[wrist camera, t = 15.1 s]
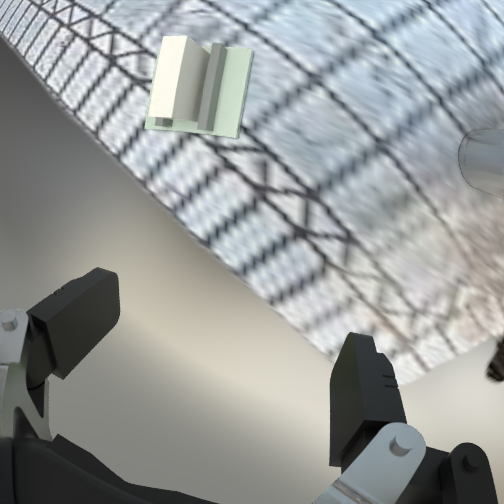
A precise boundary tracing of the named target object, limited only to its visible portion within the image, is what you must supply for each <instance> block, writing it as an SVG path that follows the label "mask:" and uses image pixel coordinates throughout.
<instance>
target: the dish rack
mask: <svg viewBox="0 0 504 504" xmlns="http://www.w3.org/2000/svg"><path fill="white" fill-rule="evenodd" d="M201 47H202V48H203V49H205V50H206V51H207V52H208V53H209V54H210V58H209V63H208V68H207V73H206V79H205V84H204V89H203V95H202V101H201V107H200V113H199V119H198V122H189V121H179V120H172V119H165V118H157V117H149V109H150V103H151V96H152V91H153V85H154V80H155V74H156V69H157V64H158V59H159V55H160V50H161V47H159V51H158V55H157V60H156V65H155V70H154V75H153V80H152V85H151V91H150V97H149V103H148V109H147V116H146V123H145V129H159V130H171V131H182V132H192V133H201V134H210V135H218V136H225V137H233V138H239V132H240V126H241V120H242V114H243V109H244V103H245V97H246V92H247V86H248V81H249V75H250V70H251V65H252V59H253V54H254V51H253V50H252V49H250V48H236V47H224V46H223V45H222V44H218V43H213V44H212V46H201Z"/></svg>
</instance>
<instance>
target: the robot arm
mask: <svg viewBox="0 0 504 504" xmlns="http://www.w3.org/2000/svg"><path fill="white" fill-rule="evenodd" d="M459 164H460V169H461V171H462V174H463V176H464V178H465V179H466V181H467V182H468V183H469V184H470V185H471V186H473V187H474V188H476V189H479V190H481V191H484V192H487V193H490V194H492V195H495V196H498V197H500V198H503V199H504V129H488V130H474V131H471V132H470V133H468V134H467V135H466V136H465V137H464V139H463V141H462V143H461V146H460V149H459ZM119 316H120V300H119V282H118V276H117V274H116V273H114V272H111V271H108V270H105V269H102V268H98V267H97V268H95V269H93V270H92V271H90V272H89V273H87V274H86V275H84V276H83V277H80V278H77V279H74V280H71V281H70V282H68V283H67V284H65V285H64V286H62V287H61V289H58V290H56V291H55V292H54V293H53V294H51V295H49V296H48V297H46V298H45V299H43V300H42V301H41V302H39V303H38V304H37V305H35V306H34V307H32V308H31V309H30V310H28V311H27V312H24V311H23V310H20V309H7V310H4V311H1V312H0V504H218V503H214V502H210V501H207V500H203V499H200V498H196V497H193V496H190V495H187V494H184V493H181V492H177V491H171V490H163V489H157V488H151V487H146V486H140V485H135V484H131V483H128V482H126V481H124V480H123V479H121V478H120V477H119V476H117V475H116V474H115V473H114V472H112V471H111V470H110V469H109V468H107V467H106V466H105V465H104V464H103V463H102V462H100V461H99V460H98V459H97V458H96V457H95V456H93V455H92V454H91V453H89V452H88V451H86V450H84V449H82V448H81V447H79V446H77V445H75V444H74V443H72V442H70V441H69V440H67V439H66V438H64V437H62V436H60V435H59V434H57V436H56V437H55V438H54V439H53V438H52V435H51V432H50V427H49V380H48V376H49V375H50V374H51V373H52V374H54V375H56V376H57V377H59V378H61V379H62V380H63V379H65V377H66V376H67V375H68V374H69V373H70V372H71V371H72V370H73V369H74V368H75V367H76V366H77V365H78V363H80V361H81V360H82V359H83V358H84V357H85V356H86V355H87V354H88V353H89V352H90V351H91V350H92V349H93V348H94V347H95V346H96V345H97V344H98V342H100V341H101V340H102V338H104V336H105V335H106V334H107V333H108V332H109V331H110V330H111V329H112V328H113V327H114V326H115V325H116V323H117V322H118V319H119ZM329 466H334V467H341V476H340V477H339V478H338V479H337V480H336V481H335V482H334V483H333V484H332V485H330V486H329V487H328V488H327V489H326V491H324V492H323V493H322V494H321V495H320V496H319V497H318V498H317V499H316V500H315V501H314V502H312V503H311V504H498V500H497V495H496V490H495V485H494V481H493V477H492V472H491V469H490V465H489V461H488V458H487V456H486V454H485V452H484V451H483V450H482V449H481V448H480V447H479V446H477V445H475V444H473V443H461V444H459V445H458V446H456V447H455V448H454V449H453V450H452V451H451V452H450V453H449V452H445V451H441V450H437V449H434V448H430V447H427V446H426V444H425V441H424V438H423V436H422V435H421V434H420V433H419V432H418V431H417V430H416V429H415V428H414V427H412V426H410V425H408V424H407V421H406V416H405V412H404V408H403V404H402V400H401V396H400V392H399V389H398V384H397V380H396V379H395V373H394V370H393V366H392V364H391V363H390V361H389V360H388V359H387V357H386V356H385V355H384V353H377V351H376V347H375V343H374V339H373V337H372V336H369V335H363V334H358V333H353V332H350V333H349V334H348V335H347V337H346V340H345V342H344V344H343V347H342V349H341V351H340V354H339V356H338V358H337V361H336V363H335V365H334V368H333V370H332V374H331V378H330V462H329Z"/></svg>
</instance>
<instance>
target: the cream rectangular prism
mask: <svg viewBox="0 0 504 504" xmlns="http://www.w3.org/2000/svg"><path fill="white" fill-rule="evenodd" d="M209 58H210V54H209V53H208V52H207V51H206V50H205V49H203V48H202V47H201V46H200V45H199V44H197V43H196V42H195V41H194V40H192V39H191V38H190V37H189V36H165V37H163V41H162V46H161V50H160V55H159V59H158V64H157V69H156V74H155V80H154V85H153V91H152V96H151V103H150V109H149V117H157V118H165V119H172V120H179V121H189V122H198V119H199V113H200V107H201V101H202V95H203V89H204V84H205V79H206V73H207V68H208V63H209Z"/></svg>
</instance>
